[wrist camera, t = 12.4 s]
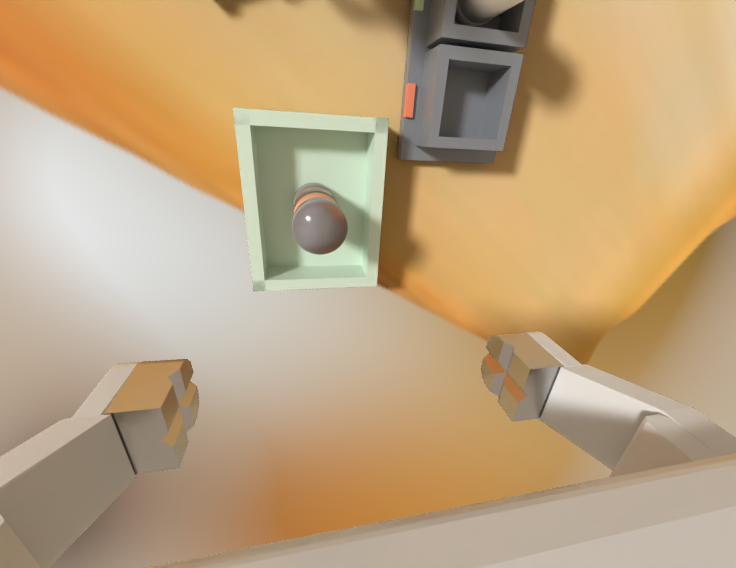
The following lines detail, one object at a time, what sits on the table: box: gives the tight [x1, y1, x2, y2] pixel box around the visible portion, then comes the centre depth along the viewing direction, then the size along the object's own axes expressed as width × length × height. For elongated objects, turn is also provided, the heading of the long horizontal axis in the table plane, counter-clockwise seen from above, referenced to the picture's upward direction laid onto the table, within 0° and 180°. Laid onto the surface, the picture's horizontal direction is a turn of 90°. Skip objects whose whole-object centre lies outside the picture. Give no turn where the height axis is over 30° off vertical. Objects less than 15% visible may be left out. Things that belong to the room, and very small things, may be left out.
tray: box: [233, 108, 389, 291], centre depth 27 cm, size 14×11×4 cm
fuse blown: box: [292, 183, 348, 255], centre depth 25 cm, size 4×4×8 cm
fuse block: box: [397, 0, 536, 164], centre depth 24 cm, size 16×9×4 cm, turn 177°
